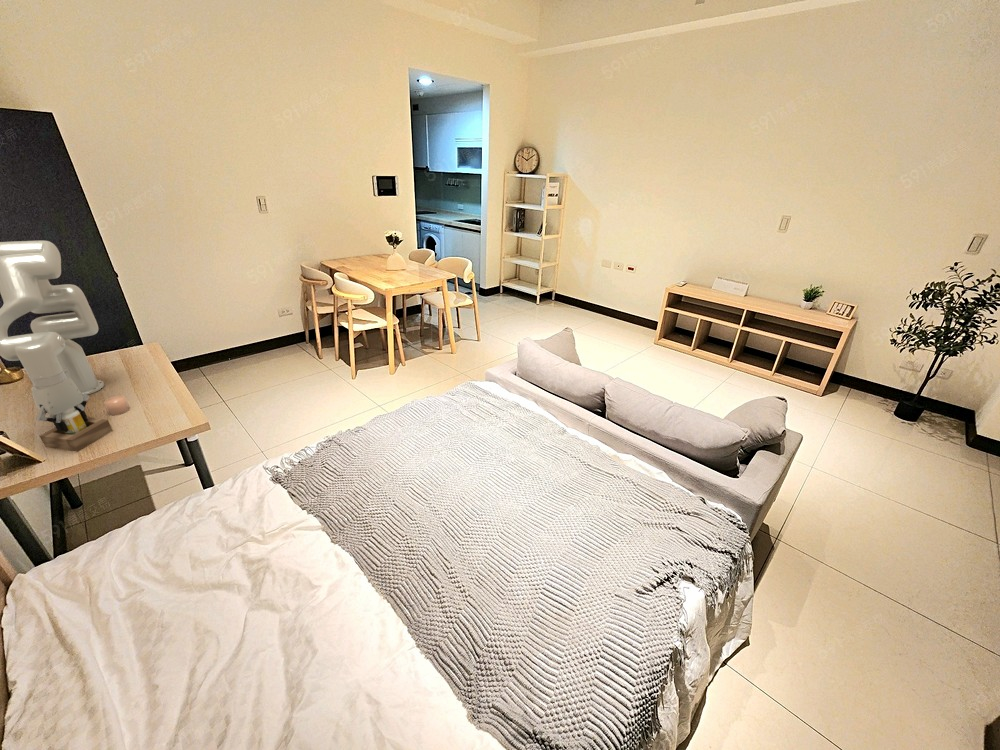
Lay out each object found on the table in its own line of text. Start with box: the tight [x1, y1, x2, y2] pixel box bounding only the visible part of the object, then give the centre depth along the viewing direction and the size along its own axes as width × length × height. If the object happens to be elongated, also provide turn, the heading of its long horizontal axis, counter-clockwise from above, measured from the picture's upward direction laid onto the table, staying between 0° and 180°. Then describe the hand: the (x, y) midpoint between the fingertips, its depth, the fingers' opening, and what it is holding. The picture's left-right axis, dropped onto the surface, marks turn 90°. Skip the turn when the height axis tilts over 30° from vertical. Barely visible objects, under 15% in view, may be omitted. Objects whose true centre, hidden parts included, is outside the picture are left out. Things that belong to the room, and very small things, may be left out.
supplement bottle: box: [60, 407, 87, 435], centre depth 137 cm, size 5×5×10 cm
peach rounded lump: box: [103, 395, 130, 416], centre depth 155 cm, size 6×6×5 cm
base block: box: [38, 416, 114, 453], centre depth 140 cm, size 12×12×5 cm
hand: (73, 425), depth 138 cm, fingers closed on supplement bottle, 5 cm apart
